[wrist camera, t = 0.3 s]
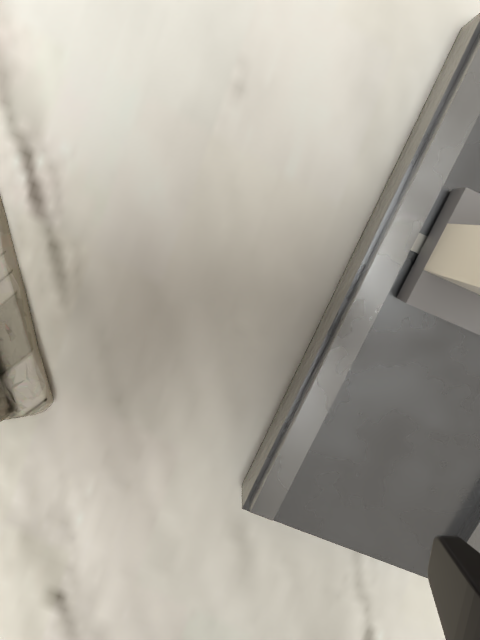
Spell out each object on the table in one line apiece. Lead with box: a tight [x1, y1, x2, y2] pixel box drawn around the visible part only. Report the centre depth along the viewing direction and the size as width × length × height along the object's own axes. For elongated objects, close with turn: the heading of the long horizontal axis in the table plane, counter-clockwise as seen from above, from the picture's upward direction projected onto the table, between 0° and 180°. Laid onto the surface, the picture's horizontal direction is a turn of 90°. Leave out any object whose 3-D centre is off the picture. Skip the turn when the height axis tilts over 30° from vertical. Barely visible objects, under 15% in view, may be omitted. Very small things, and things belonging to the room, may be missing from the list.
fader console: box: [242, 13, 480, 578], centre depth 21 cm, size 24×12×3 cm, turn 157°
